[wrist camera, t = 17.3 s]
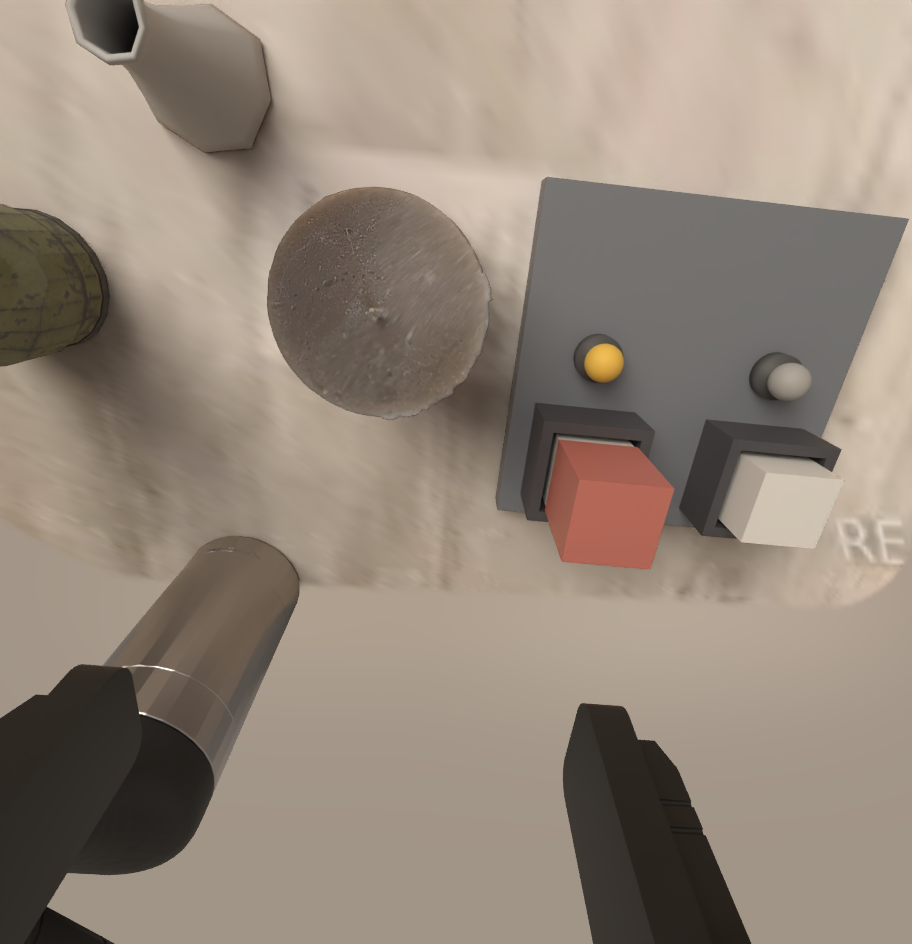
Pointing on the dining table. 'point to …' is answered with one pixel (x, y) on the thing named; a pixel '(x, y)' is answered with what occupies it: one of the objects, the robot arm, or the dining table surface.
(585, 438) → the button
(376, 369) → the pillar candle
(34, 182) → the dining table surface
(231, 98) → the flask
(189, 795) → the robot arm
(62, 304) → the thermos
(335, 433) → the dining table surface
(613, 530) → the cap
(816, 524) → the block
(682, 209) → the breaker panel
